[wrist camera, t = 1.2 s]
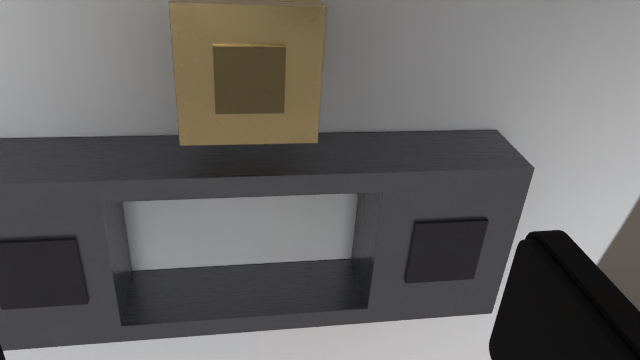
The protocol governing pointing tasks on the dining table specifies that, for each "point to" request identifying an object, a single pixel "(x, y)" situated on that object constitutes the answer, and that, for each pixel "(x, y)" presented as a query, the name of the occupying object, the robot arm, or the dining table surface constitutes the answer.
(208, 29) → the brass block
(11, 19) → the dining table surface
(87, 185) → the grey slotted block
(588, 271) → the robot arm
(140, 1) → the dining table surface
